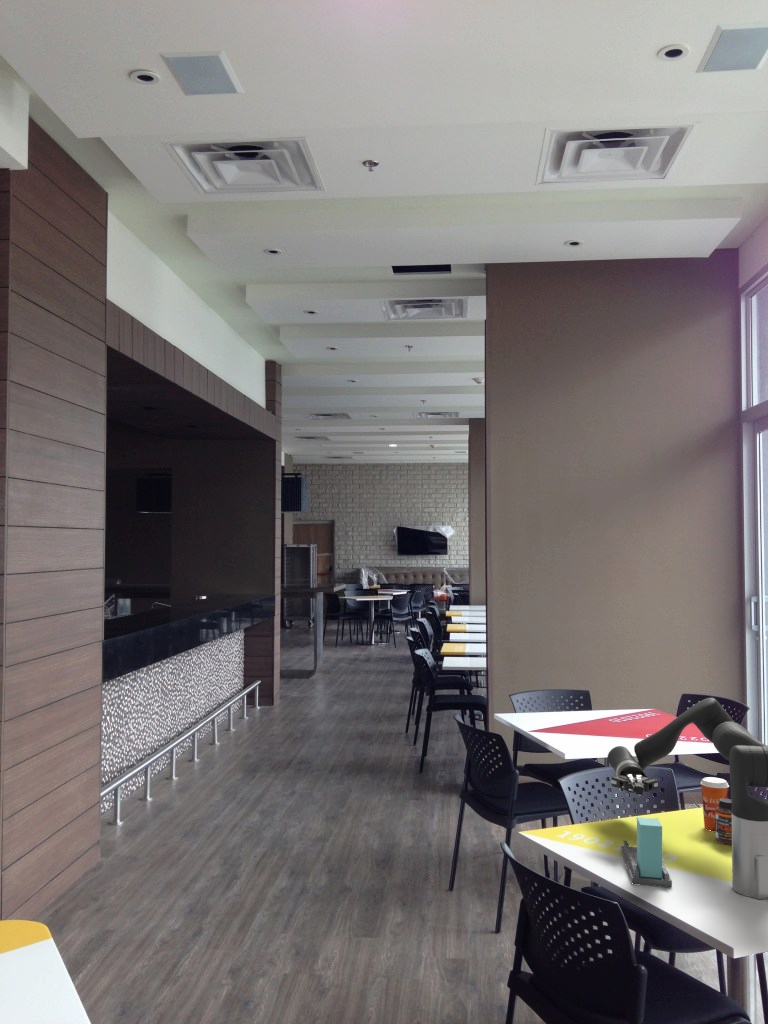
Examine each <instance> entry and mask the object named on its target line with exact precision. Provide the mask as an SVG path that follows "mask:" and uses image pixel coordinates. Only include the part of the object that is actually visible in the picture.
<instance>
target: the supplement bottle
mask: <svg viewBox="0 0 768 1024" xmlns="http://www.w3.org/2000/svg"><path fill="white" fill-rule="evenodd" d="M714 833H715V834H714V838H715V840H716V842H717V843H720V844H722V843H723V845H726V844H730V845H729V846H732V803H731V798H727V799H719V806H718V807H716V810H715V832H714Z"/></svg>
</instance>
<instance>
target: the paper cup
mask: <svg viewBox="0 0 768 1024" xmlns="http://www.w3.org/2000/svg"><path fill="white" fill-rule="evenodd" d="M700 785H701V797H702V798H701V799H702V810H703V825H704V830H706V829H707V830H706V831H708V830H711V831H710V832H712V831H715V810H716V807H718V806H719V799H728V788H730V785H729V783H728V782H727V780H725V779H724V778H719V777H712V776H709V777H708V776H707V777H704V778H702V779H701V781H700Z"/></svg>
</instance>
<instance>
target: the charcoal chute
mask: <svg viewBox="0 0 768 1024" xmlns="http://www.w3.org/2000/svg"><path fill="white" fill-rule="evenodd" d="M622 843H623V844H622V845H620V853H621V856H622V859H623V862H624V864H626V865H625V868H626V867H627V868H626V870H628V871H627V874H628V876H629V879H630V882H631V881H632V882H631V884H632V883H633V884H632V885H634V884H640V885H639V886H646V885H647V886H648V887H649V886H650V887H660V888H670V889H671V888H673V880H672V878H671V875H670V873H669V871H668V869H667V867H666V865H665V863H664V860H663V859H662V878H653V877H641V876H640V874H639V870H638V867H637V846H630V844H629V841H628V840H626V839H624V840H622Z"/></svg>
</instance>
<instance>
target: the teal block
mask: <svg viewBox="0 0 768 1024" xmlns="http://www.w3.org/2000/svg"><path fill="white" fill-rule="evenodd" d="M636 847H637V867H638V870H639V874H640V876H641V877H653V878H662V860H663V825H662V823H661V821H660V820H659V818H653V817H652V818H650V817H636Z"/></svg>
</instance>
